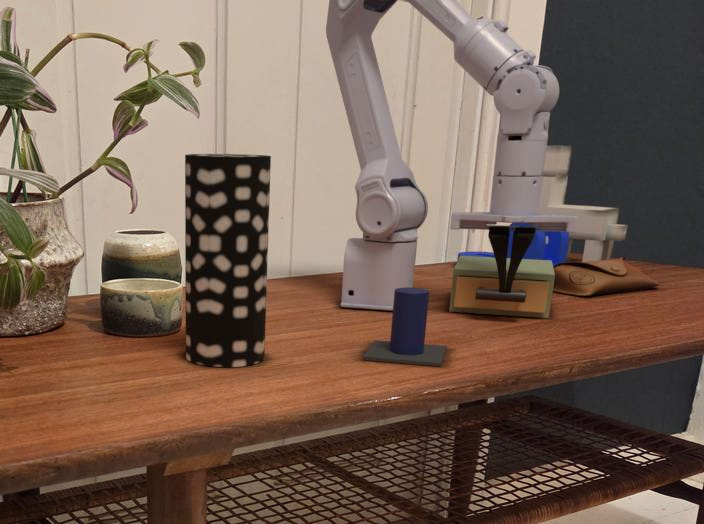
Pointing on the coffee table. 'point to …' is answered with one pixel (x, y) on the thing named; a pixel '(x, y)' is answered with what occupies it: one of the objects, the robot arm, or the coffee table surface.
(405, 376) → the coffee table surface
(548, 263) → the cabinet
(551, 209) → the toy llama
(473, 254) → the bracket
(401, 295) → the dark blue cylinder
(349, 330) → the coffee table surface
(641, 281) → the sunglasses case
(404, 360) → the mat
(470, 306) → the drawer
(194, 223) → the white-spotted black cylinder
